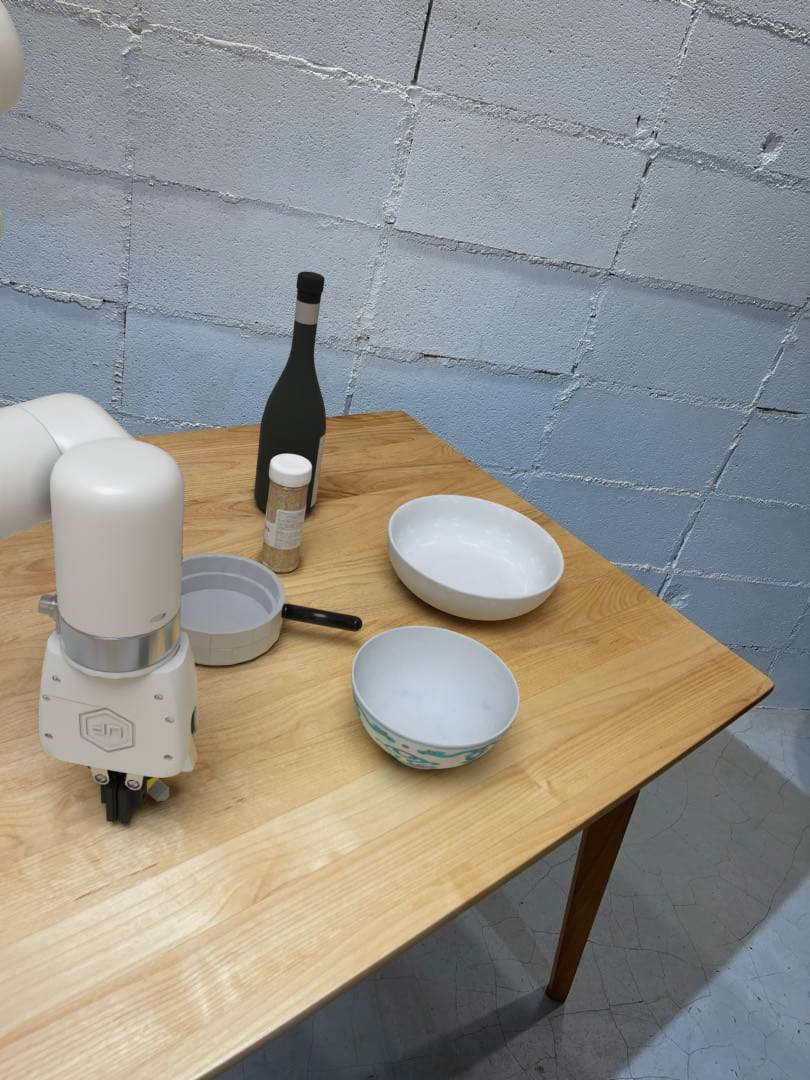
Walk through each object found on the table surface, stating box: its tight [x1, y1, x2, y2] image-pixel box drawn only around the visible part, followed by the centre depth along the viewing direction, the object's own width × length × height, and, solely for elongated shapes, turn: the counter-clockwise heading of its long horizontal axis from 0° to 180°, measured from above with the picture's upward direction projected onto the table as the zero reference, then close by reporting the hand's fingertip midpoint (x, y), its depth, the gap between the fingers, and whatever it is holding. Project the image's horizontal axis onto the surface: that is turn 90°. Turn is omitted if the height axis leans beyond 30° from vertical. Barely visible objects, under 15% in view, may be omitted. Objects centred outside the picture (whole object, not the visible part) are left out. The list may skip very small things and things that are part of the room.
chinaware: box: [350, 625, 521, 770], centre depth 73 cm, size 15×15×8 cm
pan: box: [180, 552, 286, 667], centre depth 83 cm, size 13×13×4 cm
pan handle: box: [281, 602, 364, 633], centre depth 83 cm, size 9×2×2 cm, turn 86°
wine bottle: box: [253, 270, 327, 516], centre depth 98 cm, size 8×8×30 cm
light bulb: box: [147, 777, 171, 802], centre depth 65 cm, size 3×6×4 cm, turn 63°
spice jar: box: [260, 454, 312, 573], centre depth 92 cm, size 5×5×13 cm
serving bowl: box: [386, 494, 565, 621], centre depth 96 cm, size 21×21×7 cm
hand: (124, 807), depth 63 cm, fingers closed
